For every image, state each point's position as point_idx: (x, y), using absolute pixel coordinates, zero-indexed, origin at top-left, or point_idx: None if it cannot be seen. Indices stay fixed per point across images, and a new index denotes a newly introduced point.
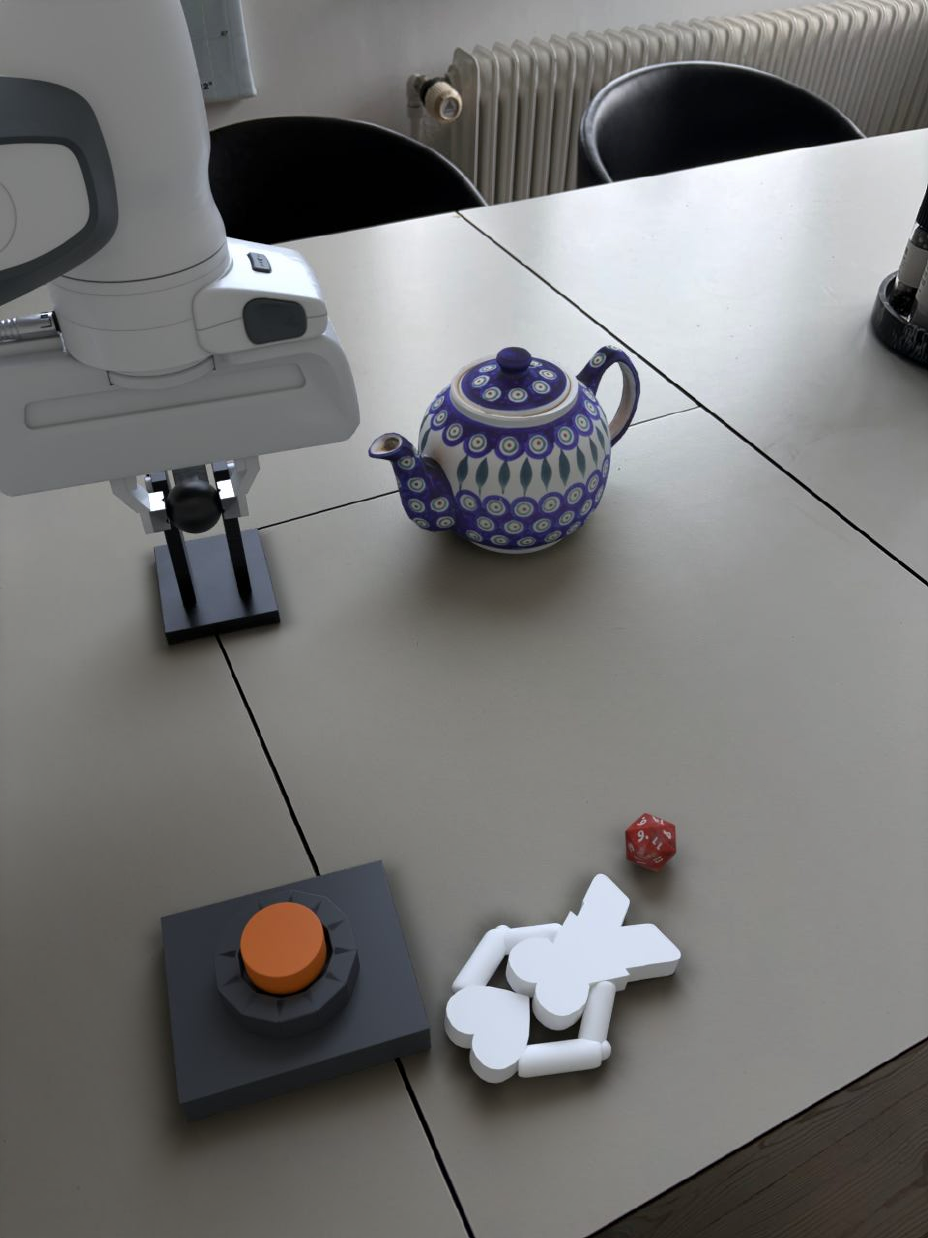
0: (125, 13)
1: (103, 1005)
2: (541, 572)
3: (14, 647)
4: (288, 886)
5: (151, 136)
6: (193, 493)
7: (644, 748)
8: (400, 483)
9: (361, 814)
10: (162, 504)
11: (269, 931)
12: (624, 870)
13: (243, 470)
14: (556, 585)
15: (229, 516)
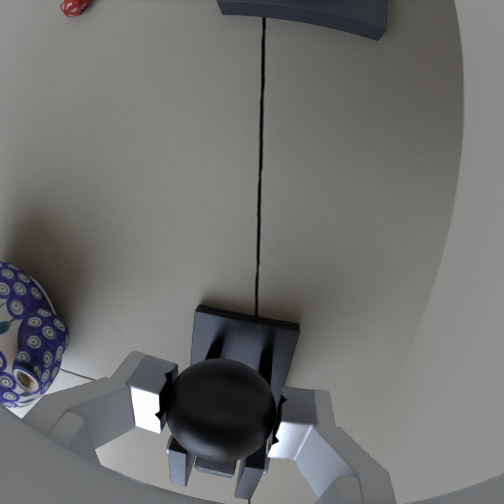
0: None
1: (418, 30)
2: (25, 252)
3: (399, 366)
4: (291, 5)
5: None
6: (207, 429)
7: (40, 77)
8: (45, 353)
9: (211, 65)
10: (281, 432)
11: None
12: (96, 2)
13: (72, 413)
14: (21, 235)
15: (164, 362)
